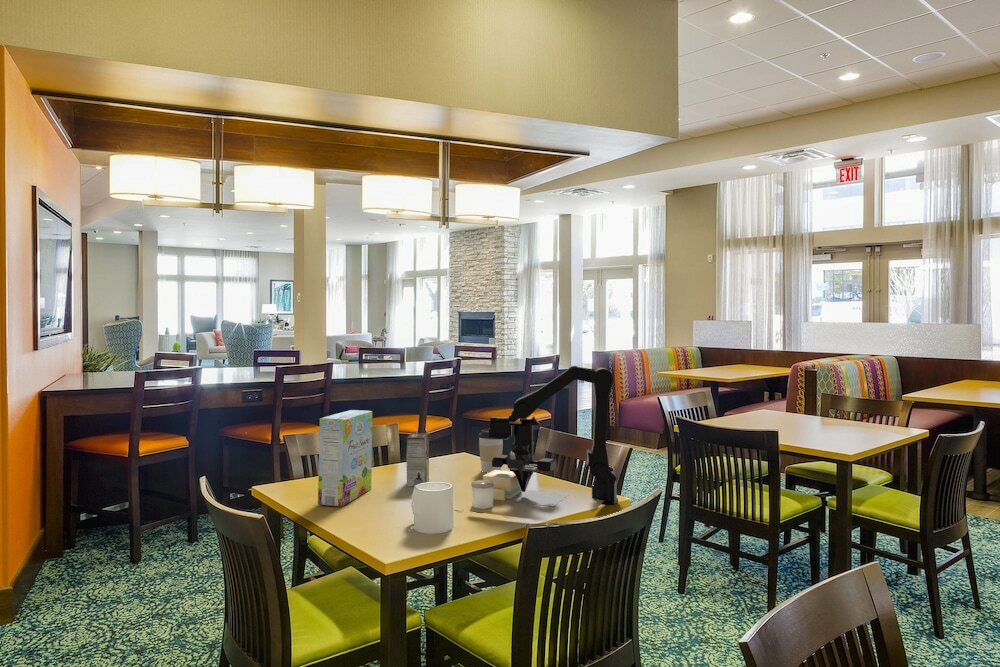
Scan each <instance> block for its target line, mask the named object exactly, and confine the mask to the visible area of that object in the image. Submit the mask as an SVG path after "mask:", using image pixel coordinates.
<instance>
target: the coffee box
mask: <svg viewBox="0 0 1000 667" xmlns="http://www.w3.org/2000/svg"><path fill="white" fill-rule="evenodd" d="M429 434H430V433H427V432H426V433H423V432H422V433H421V432H420V433H418V432H417V433H416V432H415V433H414V432H413V433H410V434H409V435H408V436H407V437H406V438H405V440H406V447H405V448H406V487H414V486H415V485H417V484H421V483H427V482H429V480H430V460H429V459H430V454H429V453H430V446H429V444H430V441H429V440H430V439H429Z"/></svg>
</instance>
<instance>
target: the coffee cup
mask: <svg viewBox="0 0 1000 667" xmlns="http://www.w3.org/2000/svg"><path fill="white" fill-rule="evenodd" d="M477 437H478V439H479V440H478V441H479V442H478V446H479V458H480V468H481V472H482V471H483V472H482V473H484V472H488V473H489V472H491V471H493V470H502V467H501V468H500V467H492V459H493V458H494V457H496V456H498V455H503V449H504V448H503V447H504V443H503V440H494V439H489V428H488V429H482V430H481V431H480V432H479V433H478V436H477Z"/></svg>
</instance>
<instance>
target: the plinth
mask: <svg viewBox="0 0 1000 667" xmlns="http://www.w3.org/2000/svg"><path fill="white" fill-rule="evenodd" d="M568 496H569V494H566V493H565V494H563V493H557V492H545V491H539V490H538V491H536V490H527V489H526V491H525V492H520V493H519V494H517V495H515V496H514V497H512V498H511V499H509V498H505V489H495V488H493V501H501V502H511V503H519V504H526V505H527V504H528V505H537V506H545V507H553V508H554V507H555V506H556V505H558V504H559V503H560V502H562V501H564V499H566V498H567V497H568Z"/></svg>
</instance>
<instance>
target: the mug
mask: <svg viewBox="0 0 1000 667" xmlns="http://www.w3.org/2000/svg"><path fill="white" fill-rule="evenodd" d="M411 510H412V514H413V529H414V530H415V532H418V533H421V534H428V535H429V534H443V533H447V532H449V531H452V529H453V528H454V486H453V484H451V483H449V482H443V481H430V482H429V481H428V482H427V483H421V484H417V485H415V486H413V491H412V495H411Z"/></svg>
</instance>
